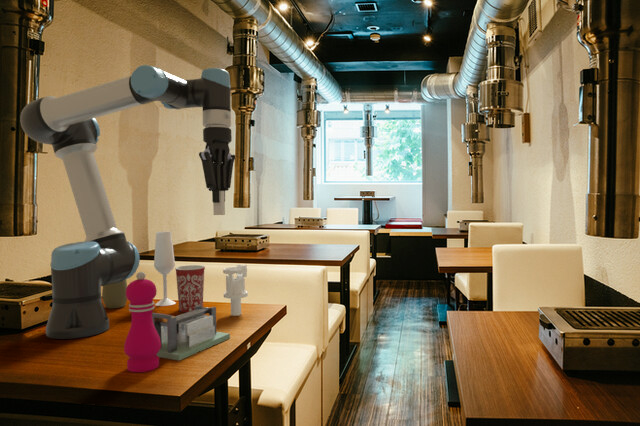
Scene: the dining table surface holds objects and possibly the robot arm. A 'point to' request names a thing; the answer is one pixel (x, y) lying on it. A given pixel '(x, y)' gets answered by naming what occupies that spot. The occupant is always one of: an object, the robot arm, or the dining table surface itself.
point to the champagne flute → (164, 261)
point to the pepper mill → (142, 326)
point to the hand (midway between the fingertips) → (219, 214)
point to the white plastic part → (235, 287)
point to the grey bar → (186, 316)
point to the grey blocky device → (186, 330)
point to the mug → (190, 286)
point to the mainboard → (186, 352)
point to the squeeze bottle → (115, 294)
